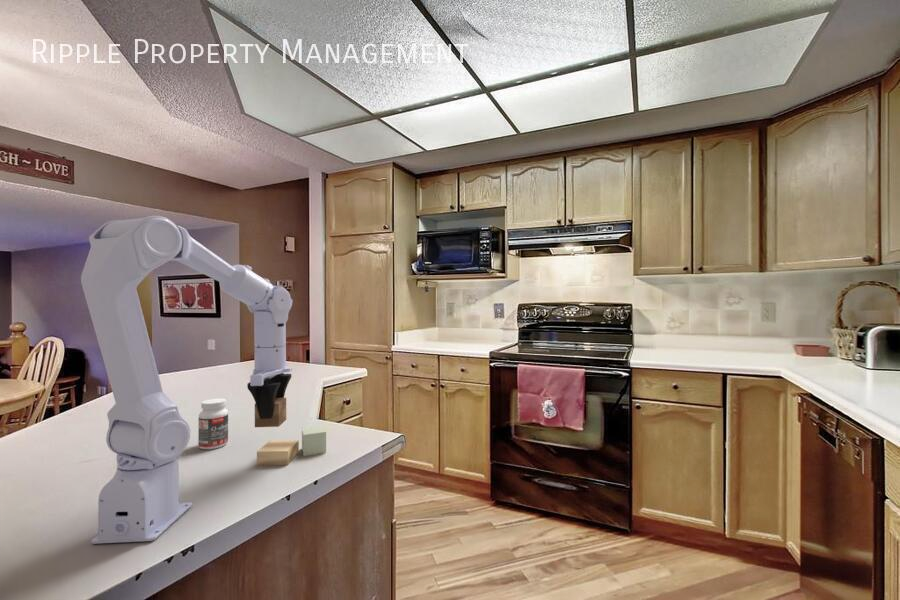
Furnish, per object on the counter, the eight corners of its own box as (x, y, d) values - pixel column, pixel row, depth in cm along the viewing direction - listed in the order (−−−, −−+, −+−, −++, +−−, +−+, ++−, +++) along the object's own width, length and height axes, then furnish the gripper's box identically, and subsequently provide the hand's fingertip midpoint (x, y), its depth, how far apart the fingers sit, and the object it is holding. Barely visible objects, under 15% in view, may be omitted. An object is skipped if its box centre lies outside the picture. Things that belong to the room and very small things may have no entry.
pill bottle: (214, 451, 86) (214, 404, 86) (192, 449, 87) (191, 403, 87) (234, 441, 91) (234, 398, 91) (212, 440, 92) (212, 397, 92)
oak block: (287, 466, 78) (287, 451, 78) (256, 466, 78) (256, 451, 78) (298, 454, 84) (298, 440, 84) (269, 454, 84) (269, 440, 84)
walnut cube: (278, 426, 78) (278, 403, 77) (254, 427, 77) (254, 404, 77) (286, 419, 82) (286, 397, 82) (263, 420, 82) (263, 398, 82)
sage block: (326, 453, 85) (326, 431, 85) (303, 456, 83) (303, 434, 83) (323, 446, 89) (323, 425, 89) (301, 449, 87) (301, 428, 87)
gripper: (278, 350, 73) (279, 425, 73) (301, 341, 87) (302, 403, 87) (238, 351, 72) (238, 426, 72) (267, 342, 86) (268, 404, 87)
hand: (270, 414), depth 80 cm, fingers closed on walnut cube, 4 cm apart
